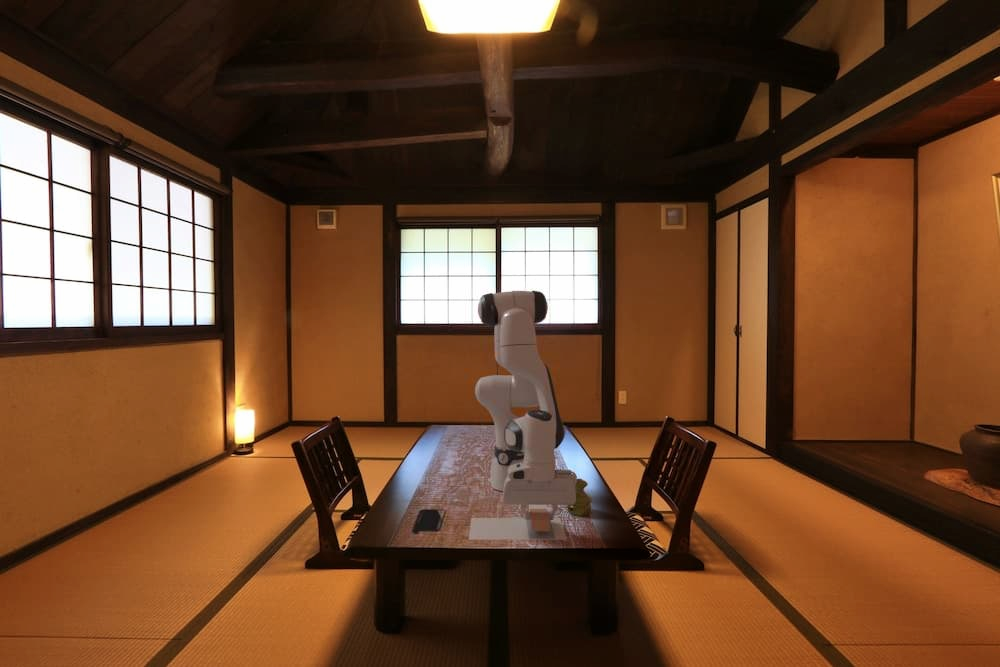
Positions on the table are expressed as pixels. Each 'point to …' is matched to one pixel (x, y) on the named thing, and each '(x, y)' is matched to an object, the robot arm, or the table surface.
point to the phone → (428, 521)
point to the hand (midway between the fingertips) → (539, 519)
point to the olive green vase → (580, 500)
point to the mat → (513, 529)
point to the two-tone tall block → (539, 518)
